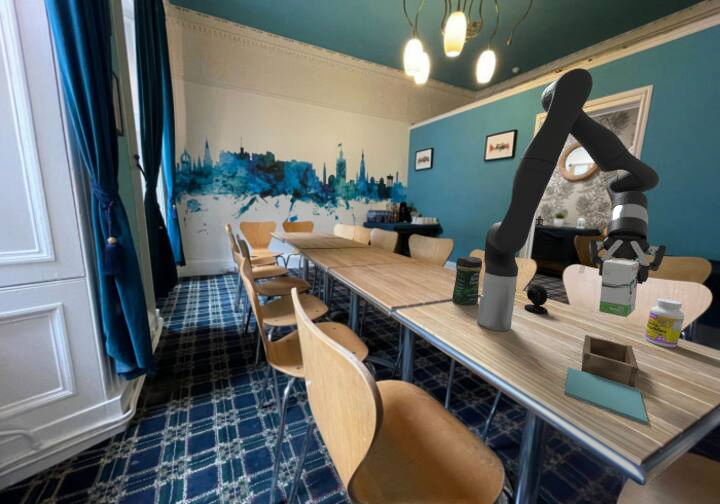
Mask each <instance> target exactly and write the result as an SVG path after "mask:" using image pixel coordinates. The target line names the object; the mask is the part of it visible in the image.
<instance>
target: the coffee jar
mask: <svg viewBox="0 0 720 504" xmlns="http://www.w3.org/2000/svg"><path fill="white" fill-rule="evenodd" d="M455 268H456V270H455V271H456V274H455V281H454V286H453V291H452V298H451V299H452V301H453V302H454V303H456V304H461V305H463V306H467V305H475V304H478V302H479V289H480V288H479V287H480V286H479V285H480V274H481V272H482V268H483V260H482V258H480V257H476V256H459V257H458V258H456V262H455Z"/></svg>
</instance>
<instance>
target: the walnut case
mask: <svg viewBox="0 0 720 504" xmlns="http://www.w3.org/2000/svg"><path fill="white" fill-rule="evenodd" d="M583 341H584V342H583V347H582V358H581V371H583V372H586V373H589V374H592V375H595V376H599V377H602V378H605V379H608V380H611V381H614V382H618V383H621V384H624V385H627V386H630V387H634V388H636V387H635V386H636V382H637V377H638V372H639V365H638V362H637V359H636V355H635V352H634V349H633V346H632V345H629V344H624V343H621V342H616V341H612V340H608V339H604V338H600V337H596V336H592V335H589V334H585V336H584V340H583Z"/></svg>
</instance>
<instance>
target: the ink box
mask: <svg viewBox="0 0 720 504" xmlns="http://www.w3.org/2000/svg"><path fill="white" fill-rule="evenodd" d="M639 263H640V262H637V261H632V260H628V259H621V258H620V259H619V258H614V259H611V260H607V261H604V263H603V273H602V276H601V287H600V295H599V296H600V298H599V308H598V311H599V312H600V313H604V314H609V315H613V316H618V317H624V318H627V317H629V315H630V314H632V313H633V312H634V311H635V310H636V300H637V299H636V298H637V291H638V271H639Z"/></svg>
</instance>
